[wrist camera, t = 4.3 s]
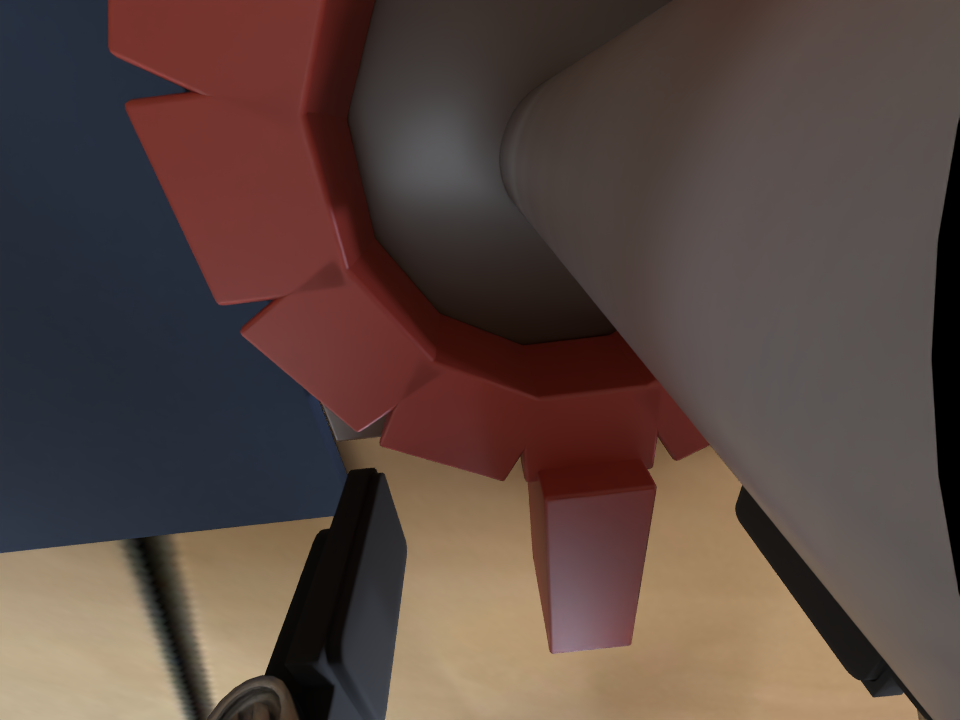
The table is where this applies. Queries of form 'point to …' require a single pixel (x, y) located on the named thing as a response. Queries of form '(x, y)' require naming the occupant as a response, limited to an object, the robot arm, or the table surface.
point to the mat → (123, 323)
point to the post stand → (713, 246)
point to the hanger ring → (389, 295)
